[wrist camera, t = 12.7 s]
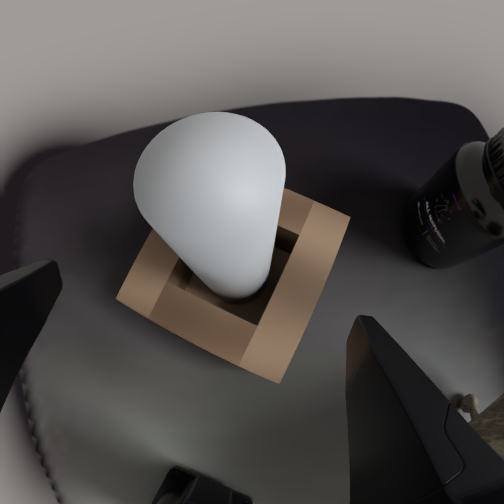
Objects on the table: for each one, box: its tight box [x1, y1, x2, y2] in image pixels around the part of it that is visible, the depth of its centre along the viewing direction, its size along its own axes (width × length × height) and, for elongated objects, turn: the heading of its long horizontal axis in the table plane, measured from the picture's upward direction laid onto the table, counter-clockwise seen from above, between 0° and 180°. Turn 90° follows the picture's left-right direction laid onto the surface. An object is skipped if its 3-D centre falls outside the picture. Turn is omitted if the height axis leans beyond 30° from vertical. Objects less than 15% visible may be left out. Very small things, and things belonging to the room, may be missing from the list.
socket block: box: [116, 188, 351, 384], centre depth 18 cm, size 10×10×5 cm
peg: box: [133, 112, 286, 304], centre depth 14 cm, size 4×4×13 cm
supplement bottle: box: [403, 128, 504, 269], centre depth 16 cm, size 7×7×12 cm
